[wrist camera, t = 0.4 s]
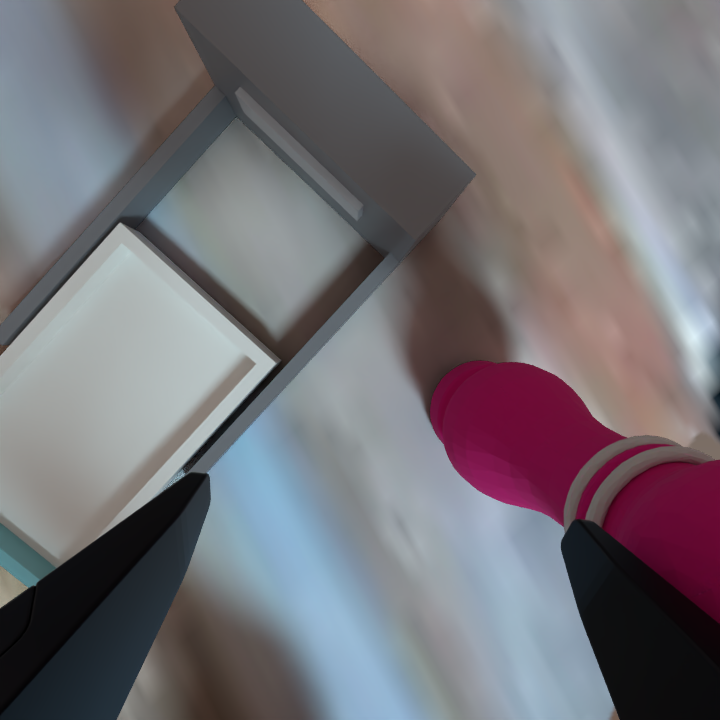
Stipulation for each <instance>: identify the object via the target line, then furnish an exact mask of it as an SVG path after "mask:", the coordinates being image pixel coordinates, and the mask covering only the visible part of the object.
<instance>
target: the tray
mask: <svg viewBox="0 0 720 720" xmlns="http://www.w3.org/2000/svg"><path fill="white" fill-rule="evenodd" d="M280 362H281V360H280V359H279V358H278V357H277V356H276V355H275V354H274V353H273V352H272V351H270V350H269V349H268V348H267V347H266V346H265V345H264V344H263V343H262V342H260V341H259V340H258V339H257V338H256V337H255V336H254V335H253V334H252V333H251V332H249V331H248V330H247V329H246V328H245V327H244V326H243V325H242V324H241V323H239V322H238V321H237V320H236V319H235V318H234V317H233V316H232V315H231V314H230V313H228V312H227V311H226V310H225V309H224V308H223V307H222V306H221V305H220V304H219V303H217V302H216V301H215V300H214V299H213V298H212V297H211V296H210V295H209V294H207V293H206V292H205V291H204V290H203V289H202V288H201V287H200V286H199V285H198V284H196V283H195V282H194V281H193V280H192V279H191V278H190V277H189V276H188V275H186V274H185V273H184V272H183V271H182V270H181V269H180V268H179V267H178V266H177V265H175V264H174V263H173V262H172V261H171V260H170V259H169V258H168V257H167V256H165V255H164V254H163V253H162V252H161V251H160V250H159V249H158V248H157V247H156V246H154V245H153V244H152V243H151V242H150V241H149V240H148V239H147V238H146V237H144V236H143V235H142V234H141V233H140V232H138V231H136V230H134V229H132V228H130V227H128V226H126V225H124V224H122V223H119V224H118V225H117V226H116V227H115V229H114V230H113V231H112V232H111V233H110V234H109V235H108V236H107V237H106V239H105V240H104V241H103V242H102V243H101V244H100V245H99V246H98V248H97V249H96V250H95V251H94V252H93V253H92V254H91V255H90V256H89V258H88V259H87V260H86V261H85V262H84V263H83V264H82V265H81V266H80V268H79V269H78V270H77V271H76V272H75V273H74V274H73V275H72V277H71V278H70V279H69V280H68V281H67V282H66V283H65V284H64V285H63V287H62V288H61V289H60V290H59V291H58V292H57V293H56V294H55V296H54V297H53V298H52V299H51V300H50V301H49V302H48V303H47V304H46V306H45V307H44V308H43V309H42V310H41V311H40V312H39V313H38V314H37V316H36V317H35V318H34V319H33V320H32V321H31V322H30V323H29V325H28V326H27V327H26V328H25V329H24V330H23V331H22V332H21V333H20V335H19V336H18V337H17V338H16V339H15V340H14V341H13V342H12V343H11V345H10V346H9V347H8V348H7V349H6V350H5V351H4V352H3V354H2V355H1V356H0V565H1V566H2V567H3V568H4V569H6V570H7V571H8V572H9V573H11V574H12V575H13V576H14V577H16V578H17V579H18V580H19V581H21V582H22V583H23V584H24V585H26V586H27V587H28V588H29V587H31V586H33V585H34V586H36V583H37V582H38V581H39V580H41V579H42V578H43V577H45V576H46V575H48V574H49V573H50V572H52V571H53V570H55V569H56V568H57V567H59V566H60V565H62V564H63V563H64V562H66V561H67V560H68V559H70V558H71V557H73V556H74V555H75V554H77V553H78V552H80V551H81V550H82V549H84V548H85V547H87V546H88V545H89V544H91V543H92V542H93V541H95V540H96V539H98V538H99V537H100V536H102V535H103V534H105V533H106V532H107V531H109V530H110V529H112V528H113V527H114V526H116V525H117V524H118V523H120V522H121V521H123V520H124V519H125V518H127V517H128V516H130V515H131V514H132V513H134V512H135V511H137V510H138V509H139V508H141V507H142V506H143V505H145V504H146V503H148V502H149V501H150V500H152V499H153V498H155V497H156V496H157V495H159V494H160V493H161V492H162V491H163V490H164V488H165V487H166V486H167V485H168V484H169V483H170V482H171V481H172V480H173V479H174V478H175V476H176V475H177V474H178V473H179V472H180V471H181V470H182V469H183V468H184V467H185V466H186V464H187V463H188V462H189V461H190V460H191V459H192V458H193V457H194V456H195V455H196V454H197V453H198V451H199V450H200V449H201V448H202V447H203V446H204V445H205V444H206V443H207V442H208V441H209V439H210V438H211V437H212V436H213V435H214V434H215V433H216V432H217V431H218V430H219V429H220V428H221V426H222V425H223V424H224V423H225V422H226V421H227V420H228V419H229V418H230V417H231V416H232V414H233V413H234V412H235V411H236V410H237V409H238V408H239V407H240V406H241V405H242V404H243V403H244V401H245V400H246V399H247V398H248V397H249V396H250V395H251V394H252V393H253V392H254V391H255V389H256V388H257V387H258V386H259V385H260V384H261V383H262V382H263V381H264V380H265V379H266V378H267V376H268V375H269V374H270V373H271V372H272V371H273V370H274V369H275V368H276V367H277V366H278V364H279V363H280Z"/></svg>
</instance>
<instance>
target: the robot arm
mask: <svg viewBox="0 0 720 720" xmlns="http://www.w3.org/2000/svg"><path fill="white" fill-rule="evenodd" d="M210 500H211V495H210V477H209V474H207V473H202V472H190V473H188V474H187V475H185V476H184V477H182V478H181V479H180V480H178V481H177V482H175V483H174V484H173V485H171V486H170V487H168V488H167V489H166V490H164V491H163V492H162V493H160V494H159V495H157V496H156V497H155V498H153V499H152V500H150V501H149V502H148V503H146V504H145V505H143V506H142V507H141V508H139V509H138V510H137V511H135V512H134V513H132V514H131V515H130V516H128V517H127V518H125V519H124V520H123V521H121V522H120V523H118V524H117V525H116V526H114V527H113V528H112V529H110V530H109V531H107V532H106V533H105V534H103V535H102V536H100V537H99V538H98V539H96V540H95V541H93V542H92V543H91V544H89V545H88V546H87V547H85V548H84V549H82V550H81V551H80V552H78V553H77V554H75V555H74V556H73V557H71V558H70V559H68V560H67V561H66V562H64V563H63V564H62V565H60V566H59V567H57V568H56V569H55V570H53V571H52V572H50V573H49V574H48V575H46V576H45V577H43V578H42V579H41V580H39V581H38V582H37V583H36V586H34V585H33V586H31V587H29V588H28V589H27V590H25V591H24V592H22V593H21V594H20V595H18V596H17V597H15V598H14V599H13V600H11V601H10V602H8V603H7V604H6V605H4V606H3V607H1V608H0V720H117V717H118V715H119V713H120V711H121V709H122V707H123V705H124V703H125V701H126V699H127V696H128V694H129V692H130V690H131V688H132V686H133V684H134V682H135V680H136V677H137V675H138V673H139V671H140V669H141V667H142V665H143V663H144V661H145V658H146V656H147V654H148V652H149V650H150V648H151V646H152V644H153V642H154V639H155V637H156V635H157V633H158V631H159V629H160V627H161V625H162V623H163V621H164V618H165V616H166V614H167V612H168V610H169V608H170V606H171V604H172V602H173V599H174V597H175V595H176V593H177V591H178V589H179V587H180V585H181V583H182V580H183V578H184V576H185V573H186V571H187V568H188V566H189V563H190V560H191V557H192V555H193V552H194V549H195V546H196V543H197V540H198V538H199V535H200V532H201V529H202V526H203V523H204V521H205V518H206V515H207V512H208V509H209V506H210ZM561 551H562V555H563V558H564V562H565V565H566V569H567V572H568V576H569V580H570V583H571V587H572V590H573V594H574V597H575V601H576V604H577V607H578V611H579V614H580V617H581V620H582V622H583V625H584V628H585V631H586V633H587V636H588V638H589V641H590V644H591V646H592V649H593V651H594V654H595V657H596V659H597V662H598V664H599V667H600V670H601V672H602V675H603V677H604V680H605V683H606V685H607V688H608V691H609V693H610V696H611V698H612V701H613V704H614V706H615V709H616V711H617V714H618V717H619V719H620V720H720V624H719V623H718V622H717V621H716V620H714V619H713V618H712V617H711V616H709V615H708V614H707V613H706V612H705V611H703V610H702V609H701V608H700V607H698V606H697V605H696V604H695V603H693V602H692V601H691V600H690V599H689V598H687V597H686V596H685V595H684V594H682V593H681V592H680V591H679V590H677V589H676V588H675V587H674V586H672V585H671V584H670V583H669V582H668V581H666V580H665V579H664V578H663V577H661V576H660V575H659V574H658V573H656V572H655V571H654V570H653V569H652V568H650V567H649V566H648V565H647V564H645V563H644V562H643V561H642V560H640V559H639V558H638V557H637V556H636V555H634V554H633V553H632V552H631V551H629V550H628V549H627V548H626V547H624V546H623V545H622V544H621V543H620V542H618V541H617V540H616V539H615V538H613V537H612V536H611V535H610V534H608V533H607V532H606V531H605V530H603V529H602V528H601V527H600V526H599V525H597V524H596V523H595V522H593V521H590V520H584V519H575V520H573V521H572V522H571V524H570V526H569V528H568V529H567V531H566V533H565V535H564V537H563V539H562V541H561Z"/></svg>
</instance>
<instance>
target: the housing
mask: <svg viewBox="0 0 720 720" xmlns="http://www.w3.org/2000/svg"><path fill="white" fill-rule="evenodd" d="M174 8H175V10H176V12H177V14H178V16H179V17H180V19H181V21H182V23H183V25H184V27H185V29H186V31H187V33H188V35H189V37H190V38H191V40H192V42H193V44H194V46H195V48H196V50H197V52H198V54H199V56H200V58H201V59H202V61H203V63H204V65H205V67H206V69H207V71H208V73H209V75H210V77H211V78H212V80H213V82H214V84H215V86H214V87H213V88H212V89H211V90H210V91H209V92H208V93H207V95H206V96H205V97H204V98H203V99H202V100H201V101H200V102H199V103H198V105H197V106H196V107H195V108H194V109H193V110H192V111H191V112H190V114H189V115H188V116H187V117H186V118H185V119H184V120H183V121H182V122H181V124H180V125H179V126H178V127H177V128H176V129H175V130H174V131H173V133H172V134H171V135H170V136H169V137H168V138H167V139H166V140H165V141H164V143H163V144H162V145H161V146H160V147H159V148H158V149H157V150H156V152H155V153H154V154H153V155H152V156H151V157H150V158H149V159H148V161H147V162H146V163H145V164H144V165H143V166H142V167H141V168H140V169H139V171H138V172H137V173H136V174H135V175H134V176H133V177H132V178H131V180H130V181H129V182H128V183H127V184H126V185H125V186H124V187H123V188H122V190H121V191H120V192H119V193H118V194H117V195H116V196H115V197H114V199H113V200H112V201H111V202H110V203H109V204H108V205H107V206H106V207H105V209H104V210H103V211H102V212H101V213H100V214H99V215H98V216H97V218H96V219H95V220H94V221H93V222H92V223H91V224H90V225H89V227H88V228H87V229H86V230H85V231H84V232H83V233H82V234H81V235H80V237H79V238H78V239H77V240H76V241H75V242H74V243H73V244H72V246H71V247H70V248H69V249H68V250H67V251H66V252H65V253H64V254H63V256H62V257H61V258H60V259H59V260H58V261H57V262H56V263H55V265H54V266H53V267H52V268H51V269H50V270H49V271H48V272H47V273H46V275H45V276H44V277H43V278H42V279H41V280H40V281H39V282H38V284H37V285H36V286H35V287H34V288H33V289H32V290H31V291H30V293H29V294H28V295H27V296H26V297H25V298H24V299H23V300H22V301H21V303H20V304H19V305H18V306H17V307H16V308H15V309H14V310H13V312H12V313H11V314H10V315H9V316H8V317H7V318H6V319H5V320H4V322H3V323H2V324H1V325H0V344H1V345H11V343H12V342H13V341H14V340H15V339H16V338H17V337H18V336H19V335H20V333H21V332H22V331H23V330H24V329H25V328H26V327H27V326H28V325H29V323H30V322H31V321H32V320H33V319H34V318H35V317H36V316H37V314H38V313H39V312H40V311H41V310H42V309H43V308H44V307H45V306H46V304H47V303H48V302H49V301H50V300H51V299H52V298H53V297H54V296H55V294H56V293H57V292H58V291H59V290H60V289H61V288H62V287H63V285H64V284H65V283H66V282H67V281H68V280H69V279H70V278H71V277H72V275H73V274H74V273H75V272H76V271H77V270H78V269H79V268H80V266H81V265H82V264H83V263H84V262H85V261H86V260H87V259H88V258H89V256H90V255H91V254H92V253H93V252H94V251H95V250H96V249H97V248H98V246H99V245H100V244H101V243H102V242H103V241H104V240H105V239H106V237H107V236H108V235H109V234H110V233H111V232H112V231H113V230H114V229H115V227H116V226H117V225H118V224H119V223H122V224H124V225H126V226H128V227H130V228H132V229H134V230H135V228H136V227H137V226H138V225H139V224H140V223H141V222H142V221H143V220H144V218H145V217H146V216H147V215H148V214H149V213H150V212H151V211H152V210H153V208H154V207H155V206H156V205H157V204H158V203H159V202H160V201H161V200H162V198H163V197H164V196H165V195H166V194H167V193H168V192H169V191H170V190H171V188H172V187H173V186H174V185H175V184H176V183H177V182H178V181H179V179H180V178H181V177H182V176H183V175H184V174H185V173H186V172H187V171H188V169H189V168H190V167H191V166H192V165H193V164H194V163H195V162H196V161H197V159H198V158H199V157H200V156H201V155H202V154H203V153H204V152H205V151H206V149H207V148H208V147H209V146H210V145H211V144H212V143H213V142H214V141H215V139H216V138H217V137H218V136H219V135H220V134H221V133H222V132H223V130H224V129H225V128H226V127H227V126H228V125H229V124H230V123H231V122H232V120H233V119H234V118H235V117H236V116H237V117H238V118H239V119H240V120H241V121H242V122H243V123H244V124H245V125H246V126H247V127H248V128H249V129H250V130H251V131H252V132H253V133H254V134H255V135H256V136H257V137H258V138H260V139H261V140H262V141H263V142H264V143H265V144H266V145H267V146H268V147H269V148H270V149H271V150H272V151H273V152H274V153H275V154H276V155H277V156H278V157H279V158H280V159H282V160H283V161H284V162H285V163H286V164H287V165H288V166H289V167H290V168H291V169H292V170H293V171H294V172H295V173H296V174H297V175H298V176H299V177H300V178H301V179H302V180H304V181H305V182H306V183H307V184H308V185H309V186H310V187H311V188H312V189H313V190H314V191H315V192H316V193H317V194H318V195H319V196H320V197H321V198H322V199H323V200H324V201H326V202H327V203H328V204H329V205H330V206H331V207H332V208H333V209H334V210H335V211H336V212H337V213H338V214H339V215H340V216H341V217H342V218H343V219H344V220H345V221H346V222H348V223H349V224H350V225H351V226H352V227H353V228H354V229H355V230H356V231H357V232H358V233H359V234H360V235H361V236H362V237H363V238H364V239H365V240H366V241H367V242H368V243H370V244H371V245H372V246H373V247H374V248H375V249H376V250H377V251H378V252H379V253H380V254H381V255H382V256H383V257H384V258H385V259H384V260H383V261H382V262H381V263H380V264H379V265H378V266H377V267H376V268H375V269H374V270H373V272H372V273H371V274H370V275H369V276H368V277H367V278H366V279H365V280H364V281H363V282H362V284H361V285H360V286H359V287H358V288H357V289H356V290H355V291H354V292H353V293H352V294H351V295H350V297H349V298H348V299H347V300H346V301H345V302H344V303H343V304H342V305H341V306H340V307H339V308H338V310H337V311H336V312H335V313H334V314H333V315H332V316H331V317H330V318H329V319H328V320H327V322H326V323H325V324H324V325H323V326H322V327H321V328H320V329H319V330H318V331H317V332H316V333H315V335H314V336H313V337H312V338H311V339H310V340H309V341H308V342H307V343H306V344H305V345H304V347H303V348H302V349H301V350H300V351H299V352H298V353H297V354H296V355H295V356H294V357H293V358H292V360H291V361H290V362H289V363H288V364H287V365H286V366H285V367H284V368H283V369H282V370H281V372H280V373H279V374H278V375H277V376H276V377H275V378H274V379H273V380H272V381H271V382H270V383H269V385H268V386H267V387H266V388H265V389H264V390H263V391H262V392H261V393H260V394H259V395H258V397H257V398H256V399H255V400H254V401H253V402H252V403H251V404H250V405H249V406H248V407H247V408H246V410H245V411H244V412H243V413H242V414H241V415H240V416H239V417H238V418H237V419H236V420H235V421H234V423H233V424H232V425H231V426H230V427H229V428H228V429H227V430H226V431H225V432H224V433H223V435H222V436H221V437H220V438H219V439H218V440H217V441H216V442H215V443H214V444H213V445H212V446H211V448H210V449H209V450H208V451H207V452H206V453H205V454H204V455H203V456H202V457H201V458H200V460H199V461H198V462H197V463H196V464H195V465H194V466H193V467H192V468H191V469H190V470H189V471H188V473H190V472H202V473H207V472H208V471H209V470H210V469H211V468H212V467H213V466H214V465H215V463H216V462H217V461H218V460H219V459H220V458H221V457H222V456H223V455H224V454H225V453H226V452H227V450H228V449H229V448H230V447H231V446H232V445H233V444H234V443H235V442H236V441H237V440H238V439H239V437H240V436H241V435H242V434H243V433H244V432H245V431H246V430H247V429H248V428H249V427H250V426H251V424H252V423H253V422H254V421H255V420H256V419H257V418H258V417H259V416H260V415H261V414H262V412H263V411H264V410H265V409H266V408H267V407H268V406H269V405H270V404H271V403H272V402H273V401H274V399H275V398H276V397H277V396H278V395H279V394H280V393H281V392H282V391H283V390H284V389H285V388H286V386H287V385H288V384H289V383H290V382H291V381H292V380H293V379H294V378H295V377H296V376H297V375H298V373H299V372H300V371H301V370H302V369H303V368H304V367H305V366H306V365H307V364H308V363H309V362H310V360H311V359H312V358H313V357H314V356H315V355H316V354H317V353H318V352H319V351H320V350H321V348H322V347H323V346H324V345H325V344H326V343H327V342H328V341H329V340H330V339H331V338H332V337H333V335H334V334H335V333H336V332H337V331H338V330H339V329H340V328H341V327H342V326H343V325H344V324H345V322H346V321H347V320H348V319H349V318H350V317H351V316H352V315H353V314H354V313H355V312H356V311H357V309H358V308H359V307H360V306H361V305H362V304H363V303H364V302H365V301H366V300H367V299H368V298H369V296H370V295H371V294H372V293H373V292H374V291H375V290H376V289H377V288H378V287H379V286H380V285H381V283H382V282H383V281H384V280H385V279H386V278H387V277H388V276H389V275H390V274H391V273H392V271H393V270H394V269H395V268H396V267H397V266H398V265H399V264H400V263H401V262H402V261H403V260H404V258H405V257H406V256H407V255H408V254H409V253H410V252H411V251H412V250H413V249H414V248H415V247H416V245H417V244H418V243H419V242H420V241H421V240H422V239H423V238H424V237H425V236H426V235H427V234H428V232H429V231H430V230H431V229H432V228H433V227H434V226H435V225H436V224H437V223H438V222H439V220H440V219H441V218H442V217H443V215H444V214H445V213H446V212H447V210H448V209H449V208H450V207H451V205H452V204H453V203H454V202H455V201H456V199H457V198H458V197H459V196H460V194H461V193H462V192H463V191H464V189H465V188H466V187H467V186H468V184H469V183H470V182H471V181H472V179H473V178H474V177H475V176H476V174H475V173H474V172H473V171H472V170H471V169H470V168H469V167H468V166H467V165H466V164H465V163H464V162H463V161H462V160H461V159H460V158H459V157H458V156H457V155H456V154H455V153H454V152H453V151H452V150H451V149H450V148H449V147H448V146H447V145H446V144H445V143H444V142H443V141H442V140H441V139H440V138H439V137H438V136H437V135H436V134H435V133H434V132H433V131H432V130H431V129H430V128H429V127H428V126H427V125H426V124H425V123H424V122H423V121H422V120H421V119H420V118H419V117H418V116H417V115H416V114H415V113H414V112H413V111H412V110H411V109H410V108H409V107H408V106H407V105H406V104H405V103H404V102H403V101H402V100H401V99H400V98H399V97H398V96H397V95H396V94H395V93H394V92H393V91H392V90H391V89H390V88H389V87H388V86H387V85H386V84H385V83H384V82H383V81H382V80H381V79H380V78H379V77H378V76H377V75H376V74H375V73H374V72H373V71H372V70H371V69H370V68H369V67H368V66H367V65H366V64H365V63H364V62H363V61H362V60H361V59H360V58H359V57H358V56H357V55H356V54H355V53H354V52H353V51H352V50H351V49H350V48H349V47H348V46H347V45H346V44H345V43H344V42H343V41H342V40H341V39H340V38H339V37H338V36H337V35H336V34H335V33H334V32H333V31H332V30H331V29H330V28H329V27H328V26H327V25H326V24H325V23H324V22H323V21H322V20H321V19H320V18H319V17H318V16H317V15H316V14H315V13H314V12H313V11H312V10H311V9H310V8H309V7H308V6H307V5H306V4H305V3H304V2H303V1H302V0H180V1H179V2H178V3H177V4H176V5H175V7H174ZM188 473H187V474H188ZM187 474H186V475H187Z"/></svg>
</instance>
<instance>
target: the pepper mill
mask: <svg viewBox="0 0 720 720" xmlns="http://www.w3.org/2000/svg"><path fill="white" fill-rule="evenodd" d="M430 417H431V423H432V426H433V429H434V431H435V433H436V435H437V437H438V438H439V439H440V440H441V442H442V443H443V444H444V447H445V450H446V453H447V455H448V458H449V460H450V461H451V463H452V465H453V467H454V468H455V469H456V471H457V472H458V473H459V474H460V475H461V476H462V477H463V478H464V479H465V480H466V481H468V482H469V483H470V484H471V485H472V486H473V487H475V488H476V489H477V490H479V491H480V492H482V493H484V494H485V495H487V496H490V497H492V498H494V499H496V500H498V501H501V502H504V503H506V504H510V505H515V506H519V507H524V508H528V509H532V510H535V511H539V512H542V513H544V514H546V515H548V516H550V517H551V518H552V519H554V520H555V521H556V522H558V523H559V524H560V525H562V526H563V527H564V530H565V533H566V531H567V529H568V528H569V526H570V524H571V522H572V521H573V520H575V519H584V520H590V521H593V522H595V523H596V524H597V525H599V526H600V527H601V528H602V529H603V530H605V531H606V532H607V533H608V534H610V535H611V536H612V537H613V538H615V539H616V540H617V541H618V542H620V543H621V544H622V545H623V546H624V547H626V548H627V549H628V550H629V551H631V552H632V553H633V554H634V555H636V556H637V557H638V558H639V559H640V560H642V561H643V562H644V563H645V564H647V565H648V566H649V567H650V568H652V569H653V570H654V571H655V572H656V573H658V574H659V575H660V576H661V577H663V578H664V579H665V580H666V581H668V582H669V583H670V584H671V585H672V586H674V587H675V588H676V589H677V590H679V591H680V592H681V593H682V594H684V595H685V596H686V597H687V598H689V599H690V600H691V601H692V602H693V603H695V604H696V605H697V606H698V607H700V608H701V609H702V610H703V611H705V612H706V613H707V614H708V615H709V616H711V617H712V618H713V619H714V620H716V621H717V622H718V623H719V624H720V460H715V459H713V458H712V457H711V456H709V455H707V454H705V453H703V452H701V451H698V450H695V449H692V448H688V447H683V446H681V445H680V444H678V443H676V442H674V441H671V440H669V439H667V438H663V437H658V436H650V435H645V436H634V437H630V438H626V437H624V436H621V435H620V434H618V433H616V432H614V431H612V430H610V429H608V428H606V427H605V426H603V425H602V424H601V423H600V422H599V421H597V420H596V419H595V418H594V417H593V416H592V415H591V413H590V412H589V410H588V408H587V407H586V405H585V404H584V402H583V401H582V399H581V398H580V397H579V396H578V395H577V394H576V393H575V391H574V390H573V389H572V388H571V387H569V386H568V385H567V384H566V383H565V382H564V381H563V380H561V379H560V378H558V377H557V376H555V375H554V374H552V373H549V372H547V371H545V370H543V369H540V368H538V367H536V366H533V365H529V364H525V363H518V362H503V363H499V364H496V363H493V362H489V361H471V362H467V363H464V364H462V365H460V366H458V367H456V368H454V369H453V370H451V371H450V372H449V373H447V374H446V375H445V376H444V377H443V378H442V380H441V381H440V382H439V384H438V386H437V388H436V389H435V391H434V394H433V396H432V400H431V407H430Z"/></svg>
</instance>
